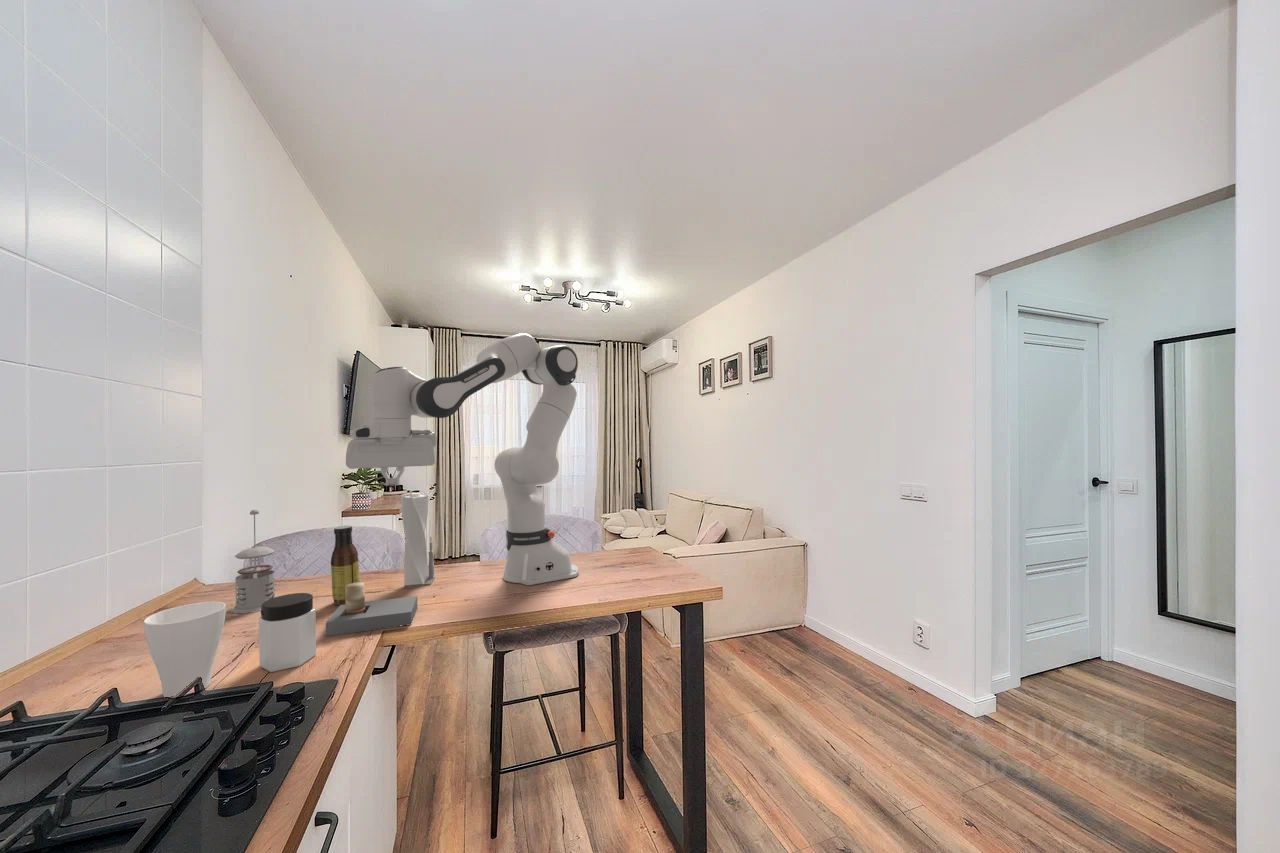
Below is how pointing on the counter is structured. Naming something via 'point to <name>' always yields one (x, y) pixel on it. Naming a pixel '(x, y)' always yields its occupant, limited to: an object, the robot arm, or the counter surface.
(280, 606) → the jar
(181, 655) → the cup
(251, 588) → the french press
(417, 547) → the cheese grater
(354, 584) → the peg
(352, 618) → the board
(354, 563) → the sauce bottle
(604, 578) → the counter surface
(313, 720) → the counter surface
